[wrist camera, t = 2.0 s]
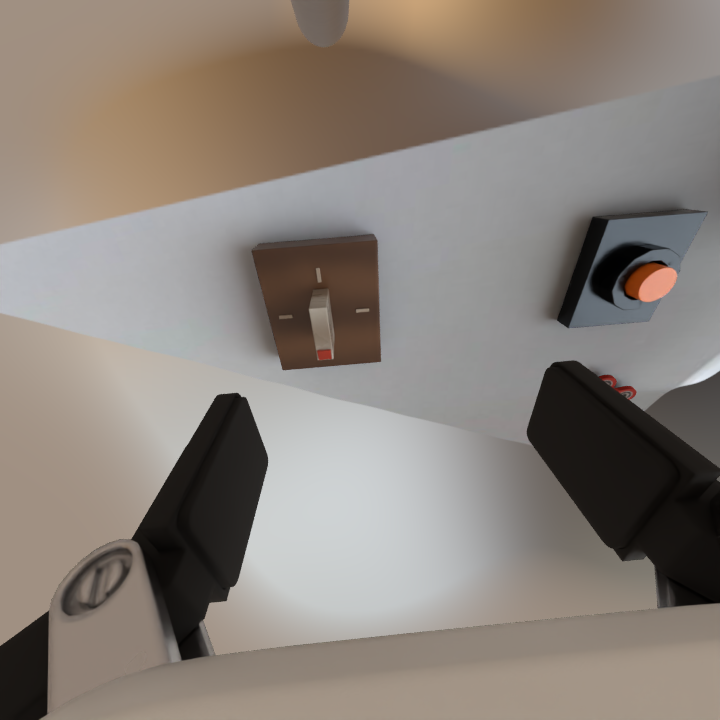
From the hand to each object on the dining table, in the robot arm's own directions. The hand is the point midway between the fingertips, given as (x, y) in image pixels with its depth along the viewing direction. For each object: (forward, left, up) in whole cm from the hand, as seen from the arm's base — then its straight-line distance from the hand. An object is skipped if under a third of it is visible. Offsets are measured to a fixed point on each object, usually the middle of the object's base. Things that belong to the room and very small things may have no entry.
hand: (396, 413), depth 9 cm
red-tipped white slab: (+6, -4, -22) cm, 23 cm away
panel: (+6, -4, -25) cm, 26 cm away
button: (+5, +30, -22) cm, 37 cm away
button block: (+5, +30, -25) cm, 40 cm away
